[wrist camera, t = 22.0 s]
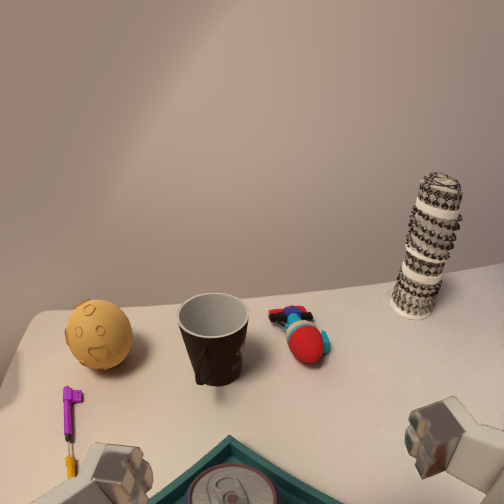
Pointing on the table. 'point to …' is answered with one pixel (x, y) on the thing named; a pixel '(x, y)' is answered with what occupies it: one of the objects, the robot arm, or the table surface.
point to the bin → (232, 451)
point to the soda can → (233, 486)
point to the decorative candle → (427, 245)
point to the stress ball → (98, 334)
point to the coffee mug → (214, 336)
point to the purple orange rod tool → (69, 424)
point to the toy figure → (301, 333)
